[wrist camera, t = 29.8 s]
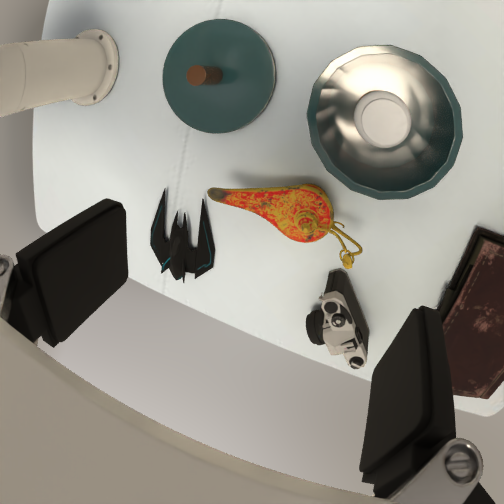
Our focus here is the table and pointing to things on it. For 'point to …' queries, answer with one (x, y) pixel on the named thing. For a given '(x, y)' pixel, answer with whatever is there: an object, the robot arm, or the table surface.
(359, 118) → the supplement bottle
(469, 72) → the table surface
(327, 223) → the magic lamp
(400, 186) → the tin
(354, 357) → the camera
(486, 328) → the diary
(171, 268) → the angular spaceship
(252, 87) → the lid
